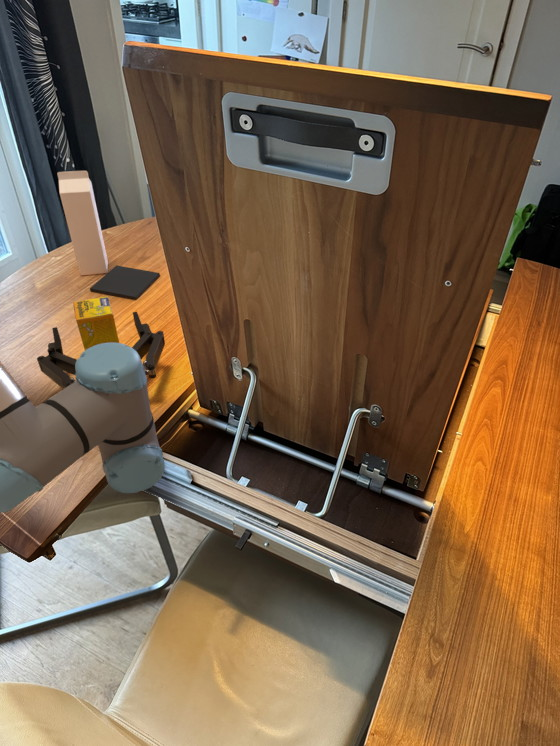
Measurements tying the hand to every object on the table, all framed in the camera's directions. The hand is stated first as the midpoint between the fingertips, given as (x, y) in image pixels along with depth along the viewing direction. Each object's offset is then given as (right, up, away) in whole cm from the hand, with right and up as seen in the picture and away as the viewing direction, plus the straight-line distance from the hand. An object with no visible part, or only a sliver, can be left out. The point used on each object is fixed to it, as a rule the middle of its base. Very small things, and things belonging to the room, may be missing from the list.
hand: (97, 325), depth 91 cm
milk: (-11, +16, +28) cm, 34 cm away
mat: (-2, +11, +23) cm, 26 cm away
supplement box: (+1, -6, +2) cm, 6 cm away
